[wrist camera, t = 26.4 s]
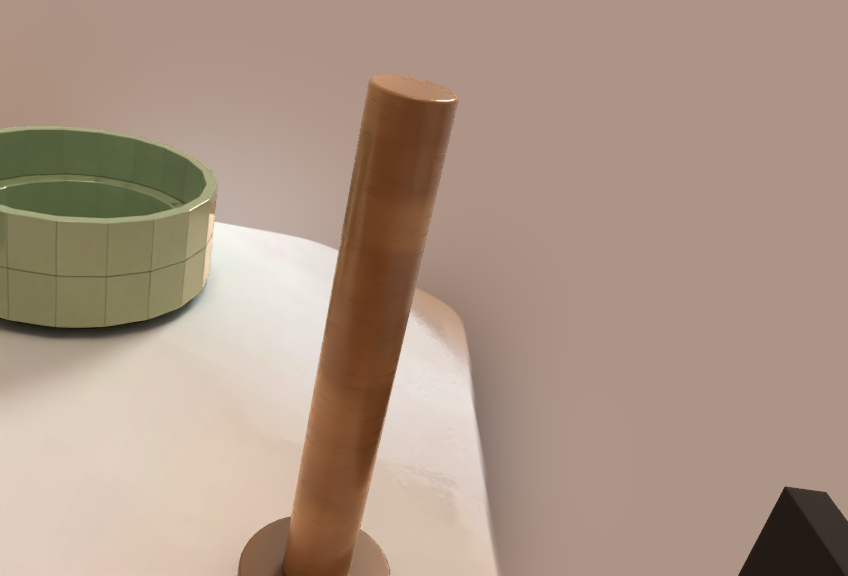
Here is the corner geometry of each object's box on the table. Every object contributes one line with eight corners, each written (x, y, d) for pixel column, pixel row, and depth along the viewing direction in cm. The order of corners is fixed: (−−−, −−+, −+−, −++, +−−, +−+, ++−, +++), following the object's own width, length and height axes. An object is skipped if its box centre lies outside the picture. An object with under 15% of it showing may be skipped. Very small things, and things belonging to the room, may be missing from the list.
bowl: (225, 244, 49) (234, 153, 47) (177, 356, 37) (187, 243, 35) (3, 207, 47) (0, 110, 45) (-121, 312, 36) (-134, 189, 33)
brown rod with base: (382, 553, 29) (500, 84, 22) (383, 673, 25) (532, 135, 17) (245, 537, 28) (318, 47, 21) (221, 657, 24) (301, 90, 16)
